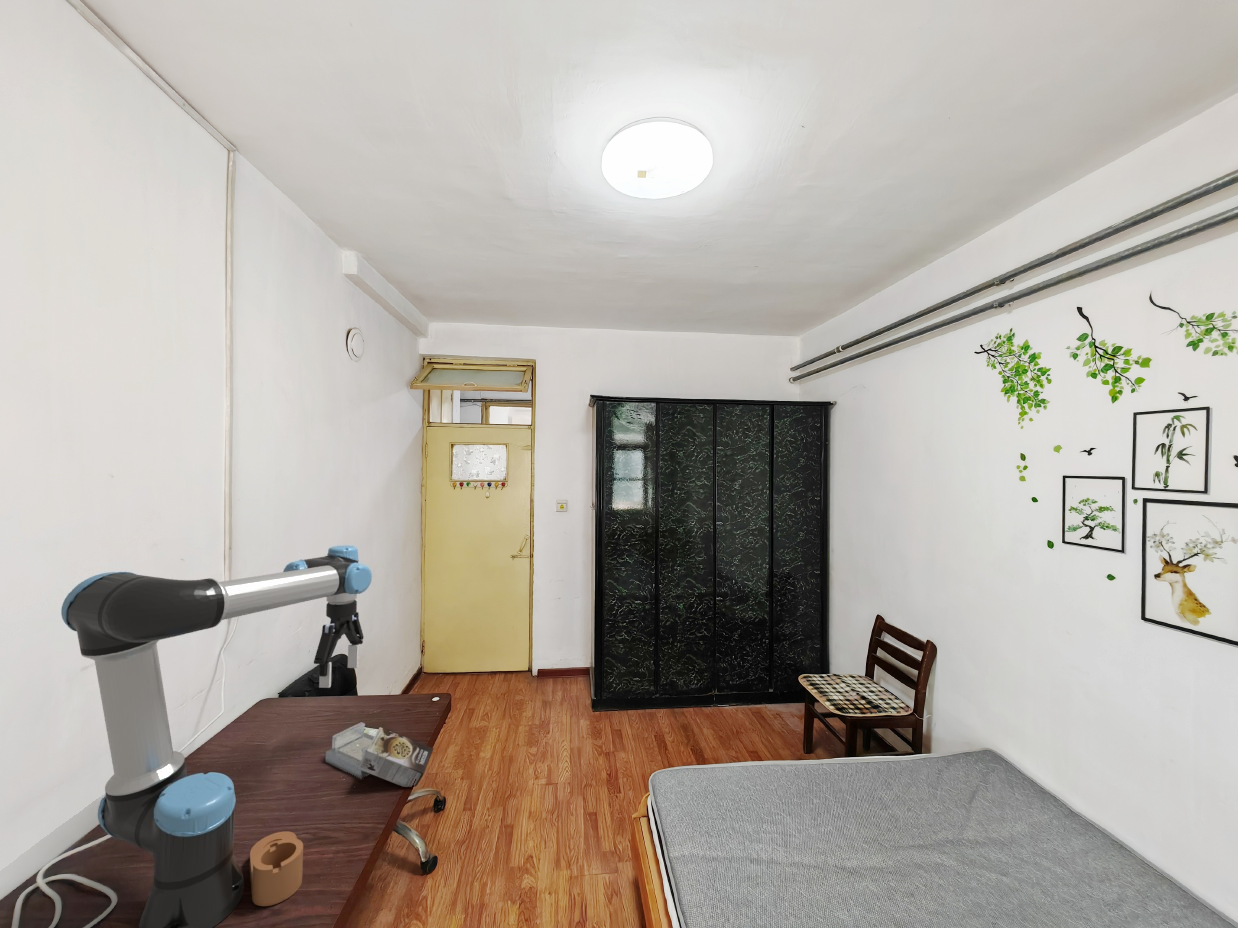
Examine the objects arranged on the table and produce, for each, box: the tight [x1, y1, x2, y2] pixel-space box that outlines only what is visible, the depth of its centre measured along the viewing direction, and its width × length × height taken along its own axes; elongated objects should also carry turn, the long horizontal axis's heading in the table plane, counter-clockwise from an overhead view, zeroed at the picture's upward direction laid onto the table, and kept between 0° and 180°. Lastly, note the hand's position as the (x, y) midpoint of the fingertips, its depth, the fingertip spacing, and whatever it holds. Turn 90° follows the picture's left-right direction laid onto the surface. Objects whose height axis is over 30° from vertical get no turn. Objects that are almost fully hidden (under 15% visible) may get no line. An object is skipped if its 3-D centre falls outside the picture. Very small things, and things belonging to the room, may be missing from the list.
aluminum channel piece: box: [325, 721, 375, 779], centre depth 144 cm, size 12×16×7 cm
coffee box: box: [357, 727, 435, 788], centre depth 135 cm, size 9×6×16 cm
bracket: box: [249, 830, 304, 907], centre depth 104 cm, size 18×8×7 cm, turn 39°
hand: (339, 676), depth 140 cm, fingers open, 13 cm apart
